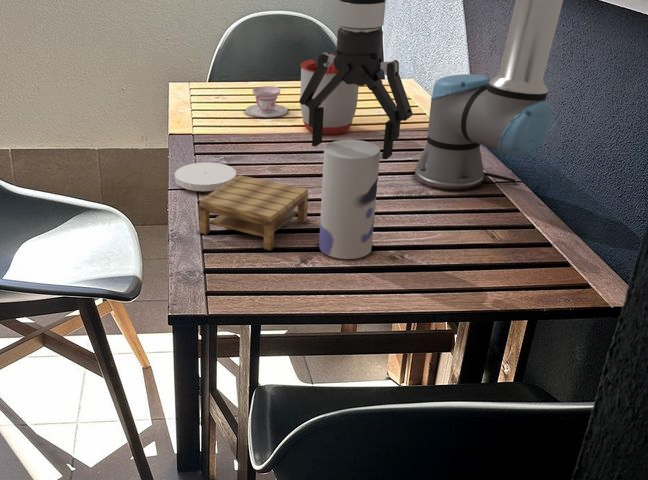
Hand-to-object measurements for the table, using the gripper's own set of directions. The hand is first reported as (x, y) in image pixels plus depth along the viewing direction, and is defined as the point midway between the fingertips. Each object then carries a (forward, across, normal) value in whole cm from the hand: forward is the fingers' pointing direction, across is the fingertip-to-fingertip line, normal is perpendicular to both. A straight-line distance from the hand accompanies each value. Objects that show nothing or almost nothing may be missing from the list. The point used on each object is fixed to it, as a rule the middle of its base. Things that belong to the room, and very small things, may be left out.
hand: (351, 150), depth 145 cm
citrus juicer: (+19, +34, -65) cm, 76 cm away
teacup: (+19, +55, -70) cm, 91 cm away
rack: (+20, +20, 0) cm, 28 cm away
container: (+20, 0, 0) cm, 20 cm away
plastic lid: (+20, +41, -15) cm, 48 cm away
